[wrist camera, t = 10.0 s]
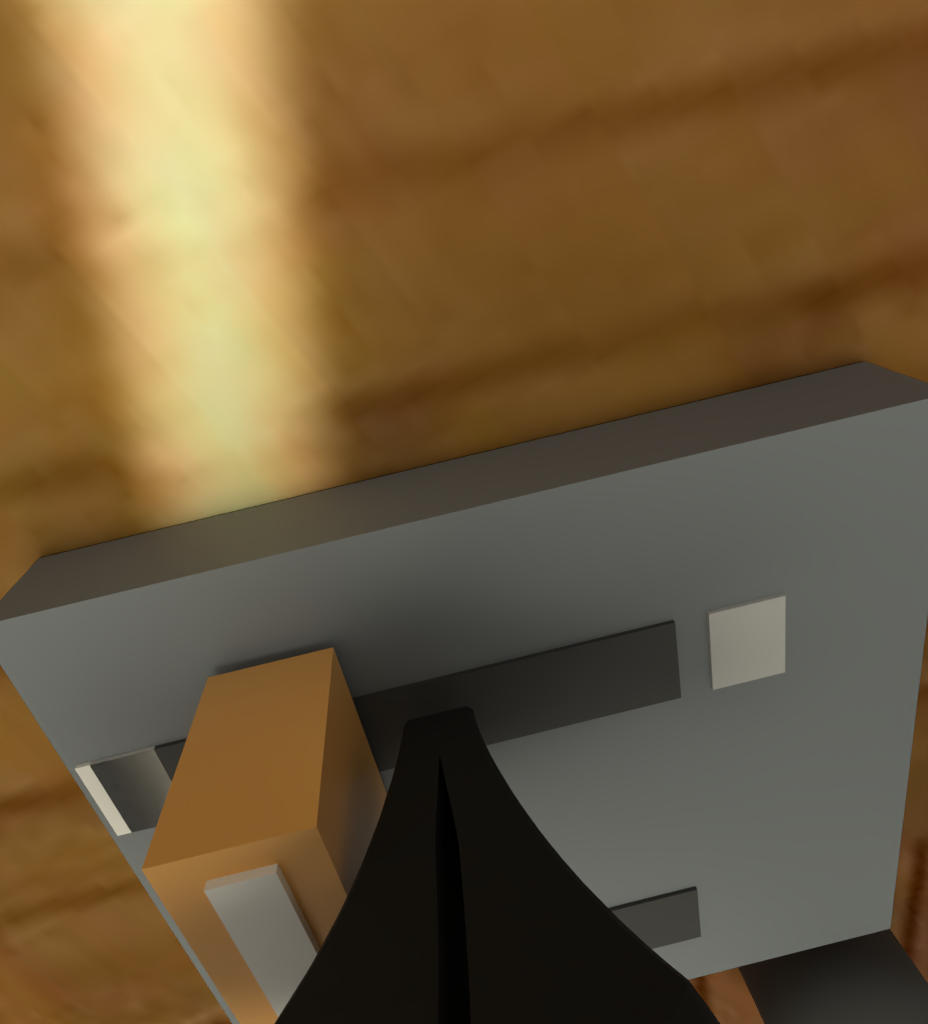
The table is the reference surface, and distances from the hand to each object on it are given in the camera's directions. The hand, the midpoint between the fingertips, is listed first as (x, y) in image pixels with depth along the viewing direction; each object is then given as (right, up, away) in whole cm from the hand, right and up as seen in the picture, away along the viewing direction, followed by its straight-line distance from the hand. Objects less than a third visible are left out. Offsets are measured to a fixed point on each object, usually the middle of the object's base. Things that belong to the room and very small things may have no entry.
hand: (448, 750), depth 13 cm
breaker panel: (+2, -1, +5) cm, 5 cm away
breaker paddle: (-3, 0, +1) cm, 3 cm away
